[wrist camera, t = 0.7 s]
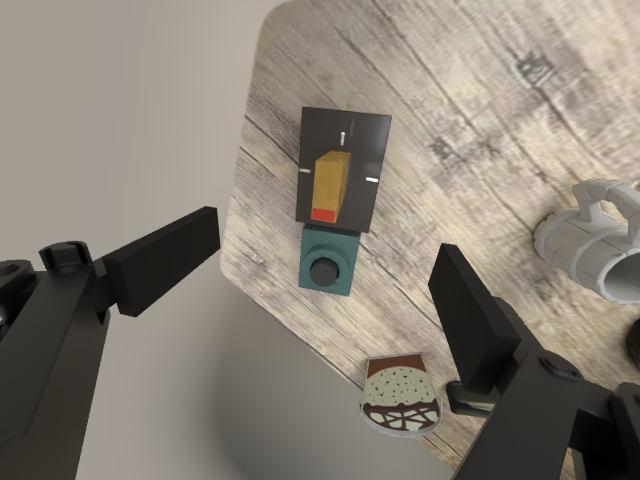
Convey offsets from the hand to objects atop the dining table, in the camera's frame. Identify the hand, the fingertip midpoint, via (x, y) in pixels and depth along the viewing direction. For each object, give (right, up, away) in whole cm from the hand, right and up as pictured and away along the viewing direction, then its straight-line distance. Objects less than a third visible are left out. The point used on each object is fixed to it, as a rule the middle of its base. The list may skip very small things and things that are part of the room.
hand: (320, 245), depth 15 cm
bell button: (+1, -4, +21) cm, 21 cm away
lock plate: (+3, +9, +18) cm, 21 cm away
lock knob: (+2, +8, +16) cm, 18 cm away
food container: (+14, -23, +31) cm, 41 cm away
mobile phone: (+30, -25, +29) cm, 49 cm away
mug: (+30, +3, +16) cm, 34 cm away
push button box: (+1, -2, +24) cm, 24 cm away
